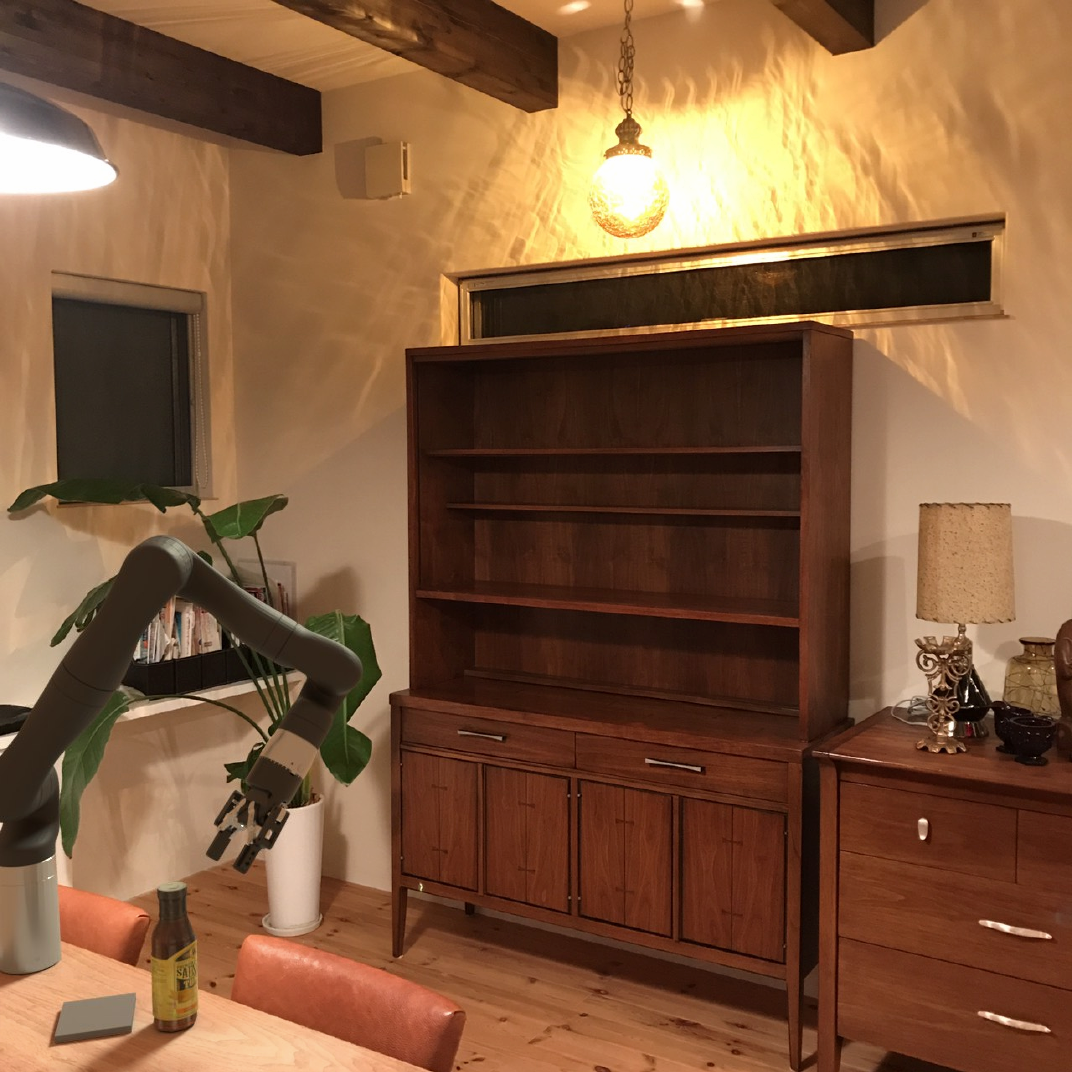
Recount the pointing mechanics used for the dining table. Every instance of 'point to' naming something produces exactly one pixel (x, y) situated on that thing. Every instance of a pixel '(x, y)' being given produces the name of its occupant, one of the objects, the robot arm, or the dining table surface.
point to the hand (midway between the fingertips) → (224, 864)
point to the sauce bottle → (174, 962)
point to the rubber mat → (96, 1017)
